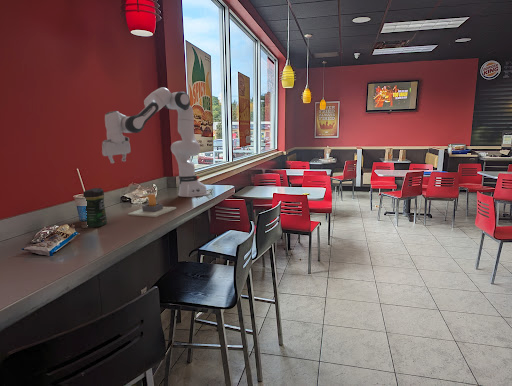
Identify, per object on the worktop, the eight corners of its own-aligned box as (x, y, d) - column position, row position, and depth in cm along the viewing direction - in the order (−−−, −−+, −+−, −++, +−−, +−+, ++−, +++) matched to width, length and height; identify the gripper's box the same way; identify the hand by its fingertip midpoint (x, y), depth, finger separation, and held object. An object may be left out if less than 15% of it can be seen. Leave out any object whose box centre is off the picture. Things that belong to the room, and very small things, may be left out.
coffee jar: (99, 228, 162) (95, 190, 158) (84, 228, 162) (79, 190, 159) (110, 222, 171) (106, 186, 168) (95, 222, 172) (91, 187, 169)
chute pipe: (147, 210, 191) (146, 195, 190) (152, 209, 195) (150, 194, 193) (153, 211, 190) (152, 195, 188) (158, 209, 194) (156, 194, 192)
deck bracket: (128, 215, 186) (127, 208, 186) (150, 207, 205) (150, 200, 204) (155, 216, 180) (154, 209, 180) (176, 208, 199) (175, 202, 198)
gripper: (106, 139, 189) (109, 164, 192) (131, 138, 208) (133, 160, 210) (97, 140, 191) (101, 164, 194) (122, 138, 210) (125, 160, 213)
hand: (118, 162), depth 202 cm, fingers open, 8 cm apart
